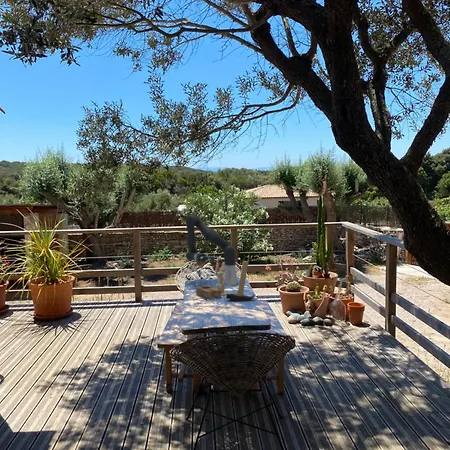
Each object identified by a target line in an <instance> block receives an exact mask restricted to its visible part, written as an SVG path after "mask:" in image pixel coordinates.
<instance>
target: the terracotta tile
mask: <svg viewBox="0 0 450 450" xmlns="http://www.w3.org/2000/svg"><path fill="white" fill-rule="evenodd" d="M227 294H230V293H229V292H227V291H225V290H224V293H221V297H222V296H223V295H224V296H227Z"/></svg>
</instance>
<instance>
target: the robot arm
mask: <svg viewBox="0 0 450 450" xmlns="http://www.w3.org/2000/svg"><path fill="white" fill-rule="evenodd" d="M185 225H186V230H187V231H186V232H187V248H188V249H189V250H192V251H187V252H186V253H185V258H186V260H188V261H196V262H197V263H200V264H201V263H203V264H204V263H205V262H206V261H215V256H213V255H206V254H205V253H203V252H198V250H197V239H196V234H195V228H196V229H198V230H199V231H200V233H201V234H202V236H203V237H204V238H205V239H206V240H208V242H210V243H212V244H213V245H215V246H217V247H219V248H220V249H221V250H222V251H223V260H224V261H223V262H224V286H230V287H231V286H232V287H233V286H237V285H238V277H237V276H238V275H237V272H236V253H237V252H236V250H237V249H236V248H235V247H234V246H233V245H232V244H230V243H229V242H227V241H226V240H224V238H223V237H221V236H220V234H219V233H217V232H216V231H215V230H213V229H212V228H211V227H210V226H208V225H207V224H206V223H205V222H203V221H202V219H200V217H199V216H198V215H197V214H194V213H190V214H189V215H187V216H186V218H185Z"/></svg>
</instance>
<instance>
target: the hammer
mask: <svg viewBox="0 0 450 450" xmlns="http://www.w3.org/2000/svg"><path fill="white" fill-rule="evenodd" d="M248 267H249V261H247V260H243V261H242V264H241V270H240V276H239V282H238V289H237V293H229V294H227V295H225V296H226V297H225V299H226V300H228V299H229V301H233V302H251V301H252V300H253V299H254V298H255V294H252V295H245V294H244V292H245V291H244V290H245V286H246V285H245V284H246V278H247V273H248Z"/></svg>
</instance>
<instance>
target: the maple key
mask: <svg viewBox="0 0 450 450" xmlns="http://www.w3.org/2000/svg"><path fill="white" fill-rule="evenodd" d="M216 278H217V279H216V280H217V281H216V284H217V285H216V286H217V287H216V288H217V289H220V290H221V293H224V291H225V271H217V272H216Z"/></svg>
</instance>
